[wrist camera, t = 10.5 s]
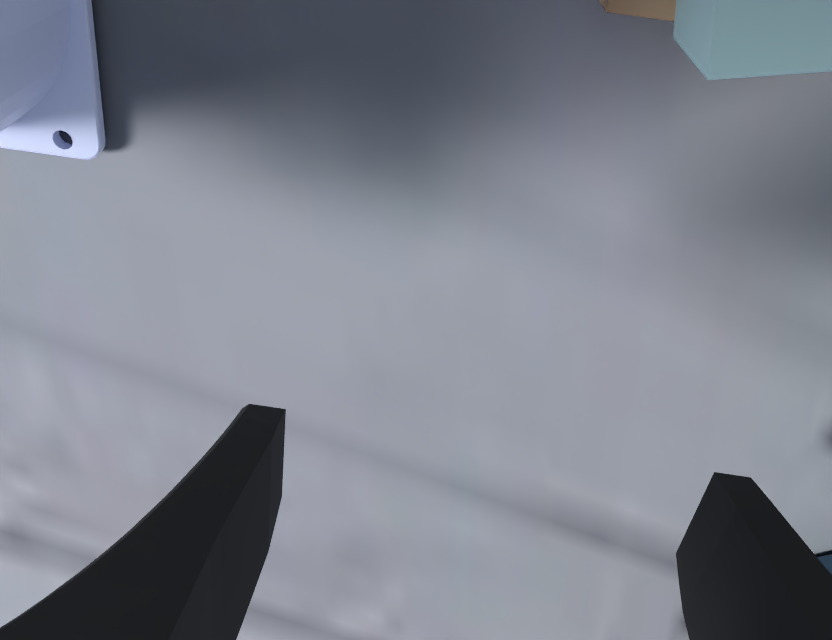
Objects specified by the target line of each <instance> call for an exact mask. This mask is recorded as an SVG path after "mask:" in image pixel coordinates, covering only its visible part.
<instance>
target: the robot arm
mask: <svg viewBox="0 0 832 640" xmlns="http://www.w3.org/2000/svg"><path fill="white" fill-rule="evenodd" d="M59 130H62V131H65V132H67V133H68V134H69V135H70V136H71V138H72V141H73V143H72V144H69V143H66V142H65V141H64V140H63V139H61V137H60V134H59ZM104 147H105V131H104V121H103V111H102V101H101V91H100V81H99V71H98V61H97V51H96V41H95V32H94V22H93V12H92V2H91V0H0V148H6V149H14V150H21V151H28V152H35V153H42V154H49V155H56V156H63V157H70V158H77V159H84V160H86V159H93V158H95V157H97V156H98V155H99V154H100V153H101V152H102V150H103V149H104ZM285 412H286V409H280V408H273V407H267V406H260V405H253V404H249V405H247V406H245V407H244V408H242V410H241V411H240V412H239V414H238V415H237V416H236V418H235V419H234V420H233V422H232V423H231V424H230V425H229V427H228V428H227V429H226V430H225V432H224V433H223V434H222V435H221V436H220V438H219V439H218V440H217V441H216V442H215V444H214V445H213V446H212V447H211V448H210V449H209V450H208V452H207V453H206V454H205V455H204V456H203V457H202V458H201V460H200V461H199V462H198V463H197V464H196V465H195V466H194V467H193V468H192V469H191V470H190V471H189V472H188V473H187V475H186V476H185V477H184V478H183V479H182V480H181V481H180V482H179V483H178V484H177V485H176V486H175V487H174V488H173V489H172V490H171V491H170V492H169V493H168V494H167V495H166V496H165V497H164V498H163V499H162V500H161V501H160V502H159V503H158V504H157V505H156V506H155V507H154V508H153V509H152V510H151V511H150V512H149V513H148V514H147V515H146V516H144V517H143V518H142V519H141V520H140V521H139V522H138V523H137V524H136V525H135V526H134V527H133V528H132V529H131V530H130V531H128V532H127V533H126V534H125V535H124V536H123V537H122V538H120V539H119V540H118V541H117V542H116V543H115V544H114V545H112V546H111V547H110V548H109V549H108V550H106V551H105V552H104V553H103V554H102V555H100V556H99V557H98V558H97V559H95V560H94V561H93V562H92V563H90V564H89V565H88V566H87V567H86V568H84V569H83V570H82V571H80V572H79V573H78V574H76V575H75V576H74V577H72V578H71V579H70V580H68V581H67V582H66V583H64V584H63V585H62V586H60V587H59V588H58V589H56V590H55V591H54V592H52V593H51V594H50V595H48V596H47V597H46V598H44V599H43V600H41V601H40V602H38V603H37V604H36V605H34V606H33V607H31V608H30V609H28V610H27V611H25V612H24V613H23V614H21V615H20V616H18V617H17V618H15V619H13V620H12V621H10V622H9V623H7V624H5V625H4V626H2V627H1V628H0V640H236V639H237V636H238V633H239V631H240V628H241V625H242V622H243V620H244V617H245V614H246V611H247V609H248V606H249V603H250V601H251V598H252V595H253V592H254V590H255V587H256V584H257V581H258V579H259V576H260V573H261V570H262V568H263V565H264V562H265V559H266V556H267V554H268V550H269V546H270V542H271V538H272V534H273V530H274V526H275V522H276V518H277V514H278V510H279V505H280V501H281V497H282V479H283V457H284V434H285ZM676 558H677V567H678V577H679V586H680V594H681V601H682V608H683V614H684V618H685V623H686V627H687V631H688V635H689V639H690V640H832V575H831V573H830V572H829V571H828V570H827V569H826V568H825V566H824V565H823V564H822V563H821V562H820V560H819V559H818V558H817V557H816V556H815V555H814V553H813V552H812V551H811V550H810V549H809V547H808V546H807V545H806V544H805V542H804V541H803V540H802V539H801V538H800V536H799V535H798V534H797V533H796V532H795V530H794V529H793V528H792V527H791V525H790V524H789V523H788V522H787V521H786V519H785V518H784V517H783V516H782V514H781V513H780V512H779V511H778V510H777V508H776V507H775V506H774V505H773V503H772V502H771V501H770V500H769V499H768V497H767V496H766V495H765V494H764V493H763V491H762V490H761V489H760V488H759V487H758V486H757V484H756V483H755V482H754V481H753V480H752V479H751V478H750V477H743V476H736V475H730V474H723V473H716V472H714V474H713V476H712V478H711V480H710V483H709V485H708V487H707V489H706V491H705V493H704V495H703V497H702V500H701V502H700V504H699V506H698V508H697V510H696V512H695V514H694V516H693V519H692V521H691V523H690V525H689V527H688V529H687V531H686V533H685V536H684V538H683V540H682V542H681V544H680V546H679V548H678V550H677V552H676Z"/></svg>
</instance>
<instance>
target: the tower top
mask: <svg viewBox="0 0 832 640" xmlns="http://www.w3.org/2000/svg"><path fill="white" fill-rule="evenodd" d="M673 38H674V39H675V41H676V42H677V43H678V44H679V46H680V47H681V48H682V49H683V50H684V52H685V53H686V54H687V55H688V57H689V58H690V59H691V60H692V62H693V63H694V64H695V65H696V66H697V68H698V69H699V70H700V71H701V73H702V74H703V75H704V76H705V78H706V79H707V80H718V79H732V78H746V77H760V76H774V75H788V74H802V73H816V72H830V71H832V0H676V9H675V20H674V31H673Z"/></svg>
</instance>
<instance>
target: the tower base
mask: <svg viewBox="0 0 832 640" xmlns="http://www.w3.org/2000/svg"><path fill="white" fill-rule="evenodd" d="M599 1H600V3H601V4H602V6H603V8H604V9H605V11H606V12H608V13H616V14H623V15H631V16H638V17H645V18H653V19H660V20H668V21H674V20H675V9H676V0H599Z"/></svg>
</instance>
